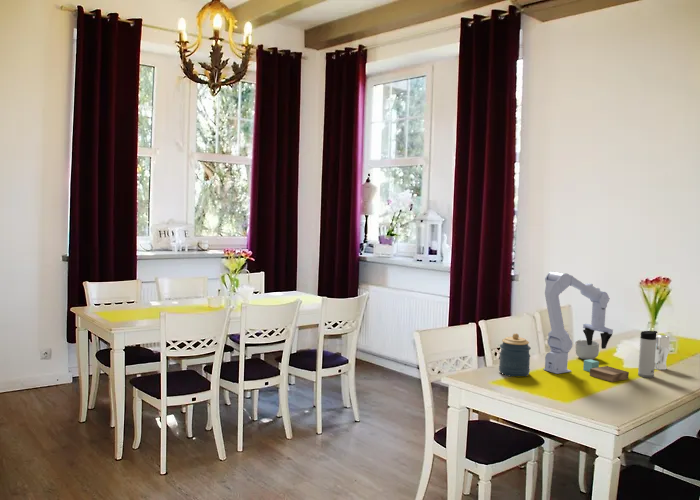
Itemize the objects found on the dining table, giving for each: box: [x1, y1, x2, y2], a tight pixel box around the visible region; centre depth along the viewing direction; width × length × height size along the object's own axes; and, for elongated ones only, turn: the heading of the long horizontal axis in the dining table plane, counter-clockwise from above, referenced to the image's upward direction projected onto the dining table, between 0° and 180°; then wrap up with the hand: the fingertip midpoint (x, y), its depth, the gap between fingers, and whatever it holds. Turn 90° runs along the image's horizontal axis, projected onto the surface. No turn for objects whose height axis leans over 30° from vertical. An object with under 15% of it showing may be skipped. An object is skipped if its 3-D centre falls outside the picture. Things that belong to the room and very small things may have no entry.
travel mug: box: [637, 330, 658, 379], centre depth 277 cm, size 6×7×20 cm
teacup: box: [575, 339, 600, 361], centre depth 310 cm, size 14×11×8 cm
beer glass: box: [654, 334, 670, 371], centre depth 292 cm, size 7×7×15 cm
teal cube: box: [582, 359, 600, 373], centre depth 285 cm, size 4×4×4 cm
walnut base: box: [589, 365, 630, 383], centre depth 275 cm, size 11×11×3 cm
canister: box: [498, 333, 531, 377], centre depth 276 cm, size 13×13×18 cm
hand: (596, 346), depth 291 cm, fingers open, 7 cm apart
